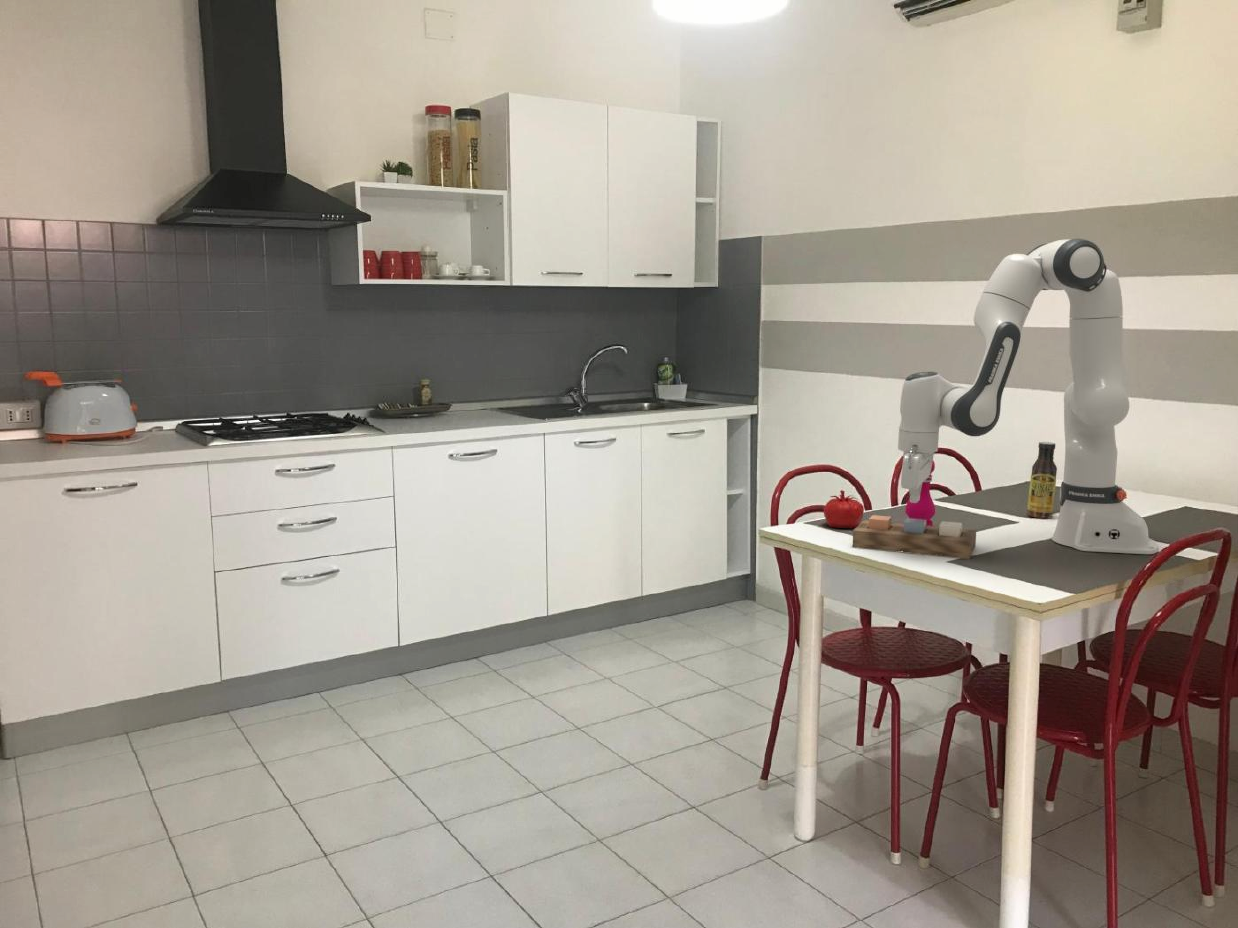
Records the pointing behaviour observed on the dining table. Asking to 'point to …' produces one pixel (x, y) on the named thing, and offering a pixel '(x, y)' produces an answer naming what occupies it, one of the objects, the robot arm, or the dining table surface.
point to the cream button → (950, 529)
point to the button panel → (915, 541)
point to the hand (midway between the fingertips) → (914, 501)
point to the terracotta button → (880, 522)
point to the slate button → (914, 526)
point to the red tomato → (843, 512)
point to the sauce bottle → (1042, 483)
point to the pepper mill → (923, 503)
